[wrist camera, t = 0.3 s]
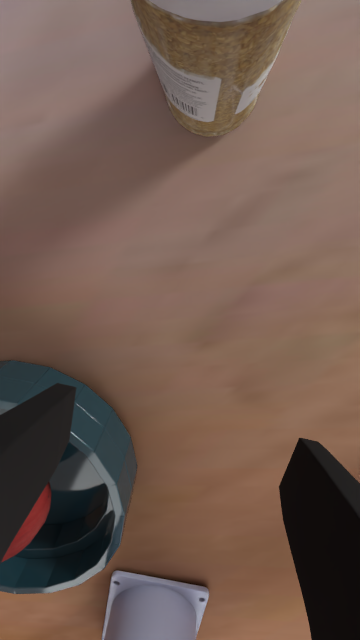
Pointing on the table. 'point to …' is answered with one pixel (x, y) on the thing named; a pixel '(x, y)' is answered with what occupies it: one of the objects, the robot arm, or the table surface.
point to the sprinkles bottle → (213, 55)
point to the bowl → (73, 488)
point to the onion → (31, 524)
